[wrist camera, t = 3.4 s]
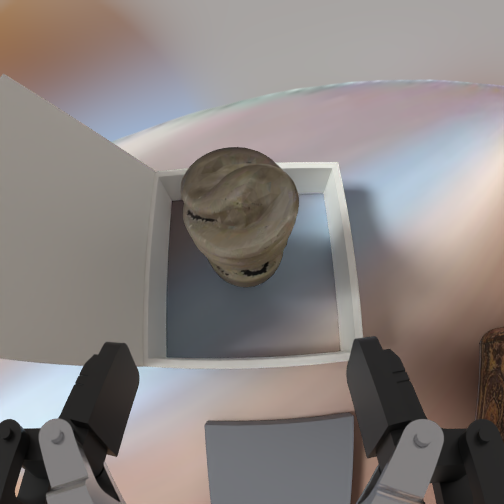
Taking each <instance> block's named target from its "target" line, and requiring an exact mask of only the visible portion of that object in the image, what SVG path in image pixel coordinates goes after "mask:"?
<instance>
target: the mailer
mask: <svg viewBox="0 0 504 504" xmlns="http://www.w3.org/2000/svg"><path fill="white" fill-rule="evenodd" d="M276 164H277V165H278V166H279V167H280V168H281V169H282V170H283V171H284V172H286V173H287V174H288V175H289V176H290V178H291V179H292V180H293V182H294V184H295V186H296V188H297V191H298V194H324V200H325V207H326V214H327V221H328V228H329V235H330V243H331V251H332V260H333V269H334V278H335V289H336V299H337V311H338V324H339V339H340V351H338V352H329V353H318V354H307V355H293V356H277V357H255V358H171V357H167V350H166V306H167V270H168V249H169V232H170V218H171V206H172V201H177V200H182V197H181V181H182V178H183V176H184V175H185V173H186V171H187V170H188V169H189V168H185V169H175V170H166V171H157V172H155V170H153V169H152V168H150V167H148V166H147V165H145V164H144V163H142V162H141V161H139V160H138V159H136V158H135V157H133V156H132V155H130V154H129V153H127V152H126V151H124V150H123V149H121V148H120V147H118V146H116V145H115V144H113V143H112V142H110V141H109V140H107V139H106V138H104V137H103V136H101V135H99V134H98V133H96V132H95V131H93V130H92V129H90V128H89V127H87V126H85V125H84V124H82V123H81V122H79V121H78V120H76V119H75V118H73V117H72V116H70V115H68V114H67V113H65V112H64V111H62V110H60V109H59V108H57V107H56V106H54V105H53V104H51V103H50V102H48V101H46V100H45V99H43V98H42V97H40V96H38V95H37V94H35V93H34V92H32V91H31V90H29V89H27V88H26V87H24V86H23V85H21V84H19V83H18V82H16V81H15V80H13V79H11V78H10V77H8V76H7V75H5V74H3V75H2V76H1V77H0V358H2V359H10V360H18V361H27V362H37V363H48V364H61V365H79V366H84V364H85V363H86V362H87V361H88V360H89V359H90V358H91V357H92V356H93V355H94V354H97V355H98V354H99V352H100V350H101V348H102V346H103V345H104V343H105V342H117V343H126V344H127V346H128V348H129V350H130V353H131V355H132V357H133V360H134V362H135V364H136V367H140V366H146V367H162V368H186V369H249V368H274V367H290V366H304V365H315V364H326V363H335V362H344V361H349V357H350V353H351V349H352V345H353V341H354V339H357V338H363V330H362V318H361V307H360V296H359V287H358V278H357V270H356V262H355V255H354V248H353V241H352V234H351V228H350V222H349V216H348V210H347V205H346V199H345V194H344V189H343V184H342V179H341V174H340V169H339V164H338V162H289V163H276Z"/></svg>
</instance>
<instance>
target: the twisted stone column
mask: <svg viewBox="0 0 504 504" xmlns="http://www.w3.org/2000/svg"><path fill="white" fill-rule="evenodd" d="M181 197H182V200H183V201H184V206H183V220H184V224H185V226H186V229H187V231H188V233H189V234H190V236H191V238H192V239H193V241H194V243H195V245H196V246H197V248H198V249H199V250H200V251H201V252H202V253H203V254H204V255H205V256H206V257H207V258H208V261H209V262H210V264H211V266H212V268H213V269H214V271H215V272H216V273H217V274H218V275H219V276H220V277H221V278H222V279H223V280H224V281H226V282H228V283H229V284H232V285H235V286H239V287H252V286H256V285H259V284H261V283H263V282H265V281H266V280H268V279H269V278H270V277H271V276H272V275H273V274H274V273H275V271H276V270H277V268H278V266H279V264H280V262H281V259H282V256H283V250H284V248H285V247H286V245H287V240H288V237H289V235H290V234H291V231H292V229H293V226H294V224H295V221H296V216H297V213H298V207H299V196H298V191H297V188H296V186H295V184H294V182H293V180H292V179H291V178H290V176H289V175H288V174H287V173H286V172H284V171H283V170H282V169H281V168H280V167H279V166H278V165H277V164H276V163H275V162H274V161H273V160H272V159H270V158H269V157H267V156H266V155H264V154H262V153H260V152H258V151H255V150H251V149H248V148H240V147H230V148H223V149H218V150H215V151H212V152H210V153H208V154H206V155H204V156H202V157H201V158H199V159H198V160H196V161H195V162H194V163H193V164H192V165H191V166H190V168H189V169H188V170H187V171H186V173H185V175H184V176H183V178H182V181H181Z"/></svg>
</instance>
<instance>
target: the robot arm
mask: <svg viewBox="0 0 504 504" xmlns="http://www.w3.org/2000/svg"><path fill="white" fill-rule="evenodd" d="M75 383H76V385H74V386H73V389H72V391H71V393H70V395H69V397H68V399H67V401H66V404H65V406H64V408H63V410H62V412H61V415H60V416H59V418H58V419H52V420H49V421H48V422H46V423H45V424H44V425H43V426H42V428H36V429H23V428H22V427H21V426H20V425H19V424H18V423H17V422H16V421H15V420H12V419H7V420H4V421H2V422H1V423H0V504H126V502H125V501H124V499H123V497H122V495H121V493H120V491H119V489H118V487H117V485H116V483H115V481H114V479H113V477H112V475H111V473H110V471H109V469H108V466H107V464H106V462H105V458H106V454H107V455H112V456H116V457H117V456H118V452H119V448H120V445H121V441H122V438H123V434H124V431H125V428H126V424H127V421H128V418H129V414H130V411H131V408H132V405H133V401H134V398H135V395H136V392H137V389H138V386H139V372H138V369H137V367H136V364H135V362H134V360H133V357H132V355H131V353H130V350H129V348H128V346H127V344H126V343H117V342H105V343H104V345H103V346H102V348H101V350H100V352H99V354H98V355H97V354H94V355H93V356H92V357H91V358H90V359H89V360H88V361H87V362H86V363H85V364H84V366H83V368H82V370H81V372H80V376H78V378H77V380H76V382H75ZM347 383H348V387H349V390H350V394H351V397H352V401H353V405H354V409H355V412H356V416H357V420H358V424H359V428H360V432H361V436H362V440H363V444H364V448H365V452H366V456H367V458H371V457H376V456H377V458H378V462H379V464H378V466H377V468H376V470H375V471H374V473H373V475H372V477H371V479H370V481H369V482H368V484H367V486H366V488H365V489H364V491H363V493H362V494H361V496H360V498H359V499H358V501H357V503H356V504H425V502H424V501H423V498H424V495H425V493H426V490H427V488H428V485H429V483H432V485H433V489H434V494H435V498H436V503H437V504H504V442H503V440H502V437H501V435H500V432H499V430H498V428H497V426H496V425H495V424H494V423H493V422H491V421H489V420H487V419H478V420H475V421H474V422H472V423H471V424H470V425H469V427H468V428H467V429H443V428H440V427H439V425H437V424H436V423H435V422H433V421H431V420H428V419H427V418H426V416H425V414H424V412H423V409H422V407H421V404H420V402H419V400H418V397H417V395H416V393H415V390H414V388H413V386H412V384H411V382H410V381H409V377H408V375H407V372H405V368H404V366H403V364H402V362H401V360H400V358H399V357H398V356H397V355H396V354H395V353H394V352H393V351H392V350H391V349H386V350H383V349H382V347H381V345H380V343H379V340H378V339H377V337H375V336H373V337H365V338H357V339H354V341H353V345H352V349H351V353H350V357H349V361H348V365H347ZM21 467H23V468H24V469H25V472H24V476H23V479H22V482H21V486H20V489H19V493H18V496H17V498H16V496H15V487H16V484H17V480H18V477H19V474H20V470H21Z"/></svg>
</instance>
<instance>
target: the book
mask: <svg viewBox="0 0 504 504" xmlns="http://www.w3.org/2000/svg"><path fill="white" fill-rule="evenodd" d="M478 419H487V420H489V421H491V422H493V423H494V424H495V425H496V426H497V428H498V430H499V432H500V435H501V437H502V440H503V442H504V327H502V328H496V329H492V330H490V331H488V332H487V333H486V334H485V335H484V336H483V337H482V339H481V341H480V365H479V386H478V399H477V409H476V417H475V420H478Z"/></svg>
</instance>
